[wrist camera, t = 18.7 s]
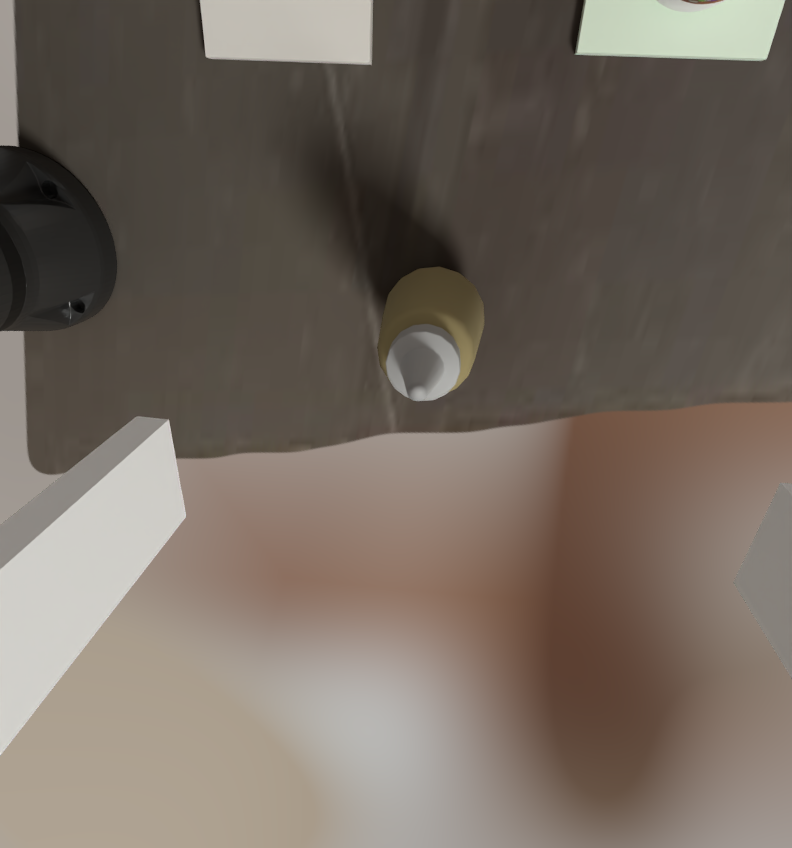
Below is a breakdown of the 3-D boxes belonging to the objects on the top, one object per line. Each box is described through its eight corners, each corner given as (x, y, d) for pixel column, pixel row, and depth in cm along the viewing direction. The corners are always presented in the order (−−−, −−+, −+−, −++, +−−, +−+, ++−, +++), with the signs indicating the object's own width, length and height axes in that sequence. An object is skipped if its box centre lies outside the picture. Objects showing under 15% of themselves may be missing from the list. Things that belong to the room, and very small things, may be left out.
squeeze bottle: (429, 368, 47) (408, 477, 32) (370, 299, 45) (316, 379, 29) (503, 313, 44) (521, 403, 28) (443, 236, 42) (427, 288, 26)
